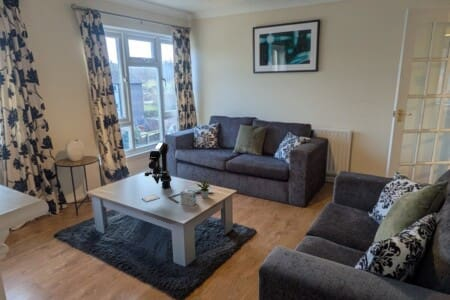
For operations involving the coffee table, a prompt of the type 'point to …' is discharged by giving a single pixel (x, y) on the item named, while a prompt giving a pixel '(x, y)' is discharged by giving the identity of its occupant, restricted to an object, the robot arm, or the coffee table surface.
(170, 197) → the label frame
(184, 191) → the light bulb box
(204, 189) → the house plant
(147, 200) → the label plate
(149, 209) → the coffee table surface
